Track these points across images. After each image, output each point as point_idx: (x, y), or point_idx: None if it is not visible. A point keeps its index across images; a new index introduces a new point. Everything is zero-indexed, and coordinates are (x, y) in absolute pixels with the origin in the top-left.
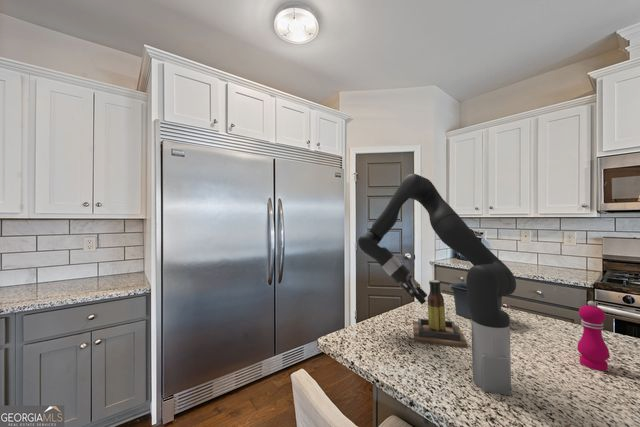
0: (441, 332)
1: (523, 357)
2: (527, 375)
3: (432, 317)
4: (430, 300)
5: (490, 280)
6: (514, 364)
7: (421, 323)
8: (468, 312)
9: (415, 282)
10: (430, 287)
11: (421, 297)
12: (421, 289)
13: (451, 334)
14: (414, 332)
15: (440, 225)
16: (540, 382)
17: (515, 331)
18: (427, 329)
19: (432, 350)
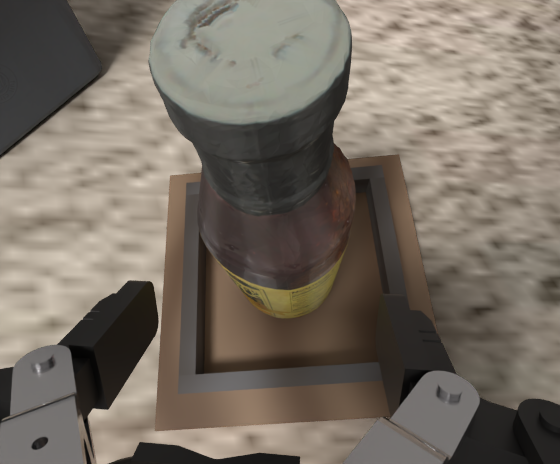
0: (385, 247)
1: (387, 20)
2: (522, 29)
3: (334, 277)
4: (339, 245)
5: None
6: (460, 47)
7: (203, 369)
8: (7, 115)
9: (78, 461)
10: (292, 173)
11: (415, 336)
12: (102, 339)
13: (388, 200)
14: (364, 412)
15: None
16: (549, 10)
17: (153, 9)
18: (283, 331)
19: (504, 308)
